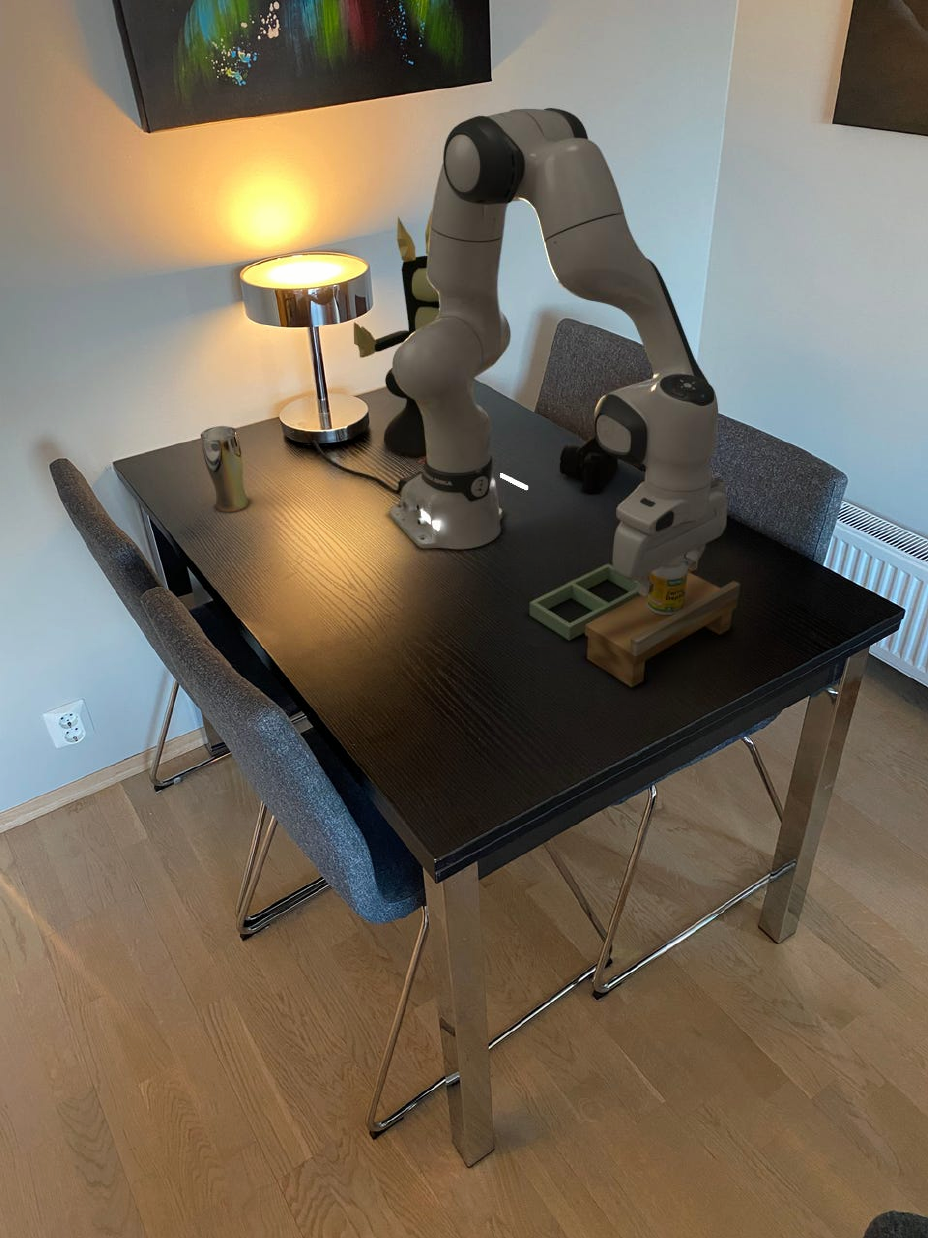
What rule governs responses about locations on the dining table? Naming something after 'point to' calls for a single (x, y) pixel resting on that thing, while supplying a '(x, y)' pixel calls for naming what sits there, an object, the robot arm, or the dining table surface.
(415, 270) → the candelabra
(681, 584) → the supplement bottle
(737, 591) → the windowsill ledge
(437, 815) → the dining table surface
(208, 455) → the beer glass
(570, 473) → the film camera
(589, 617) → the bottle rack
